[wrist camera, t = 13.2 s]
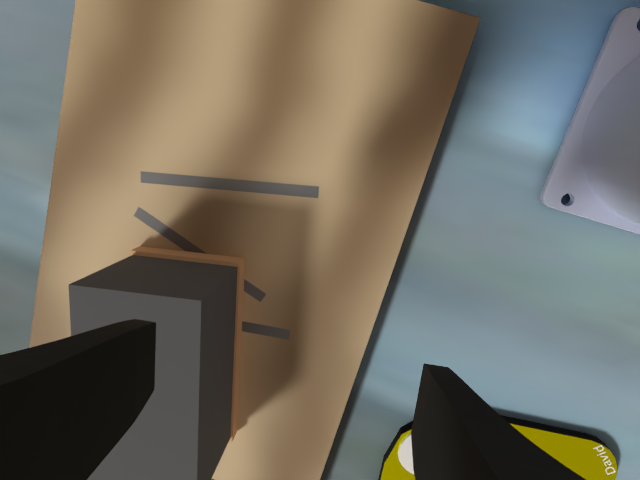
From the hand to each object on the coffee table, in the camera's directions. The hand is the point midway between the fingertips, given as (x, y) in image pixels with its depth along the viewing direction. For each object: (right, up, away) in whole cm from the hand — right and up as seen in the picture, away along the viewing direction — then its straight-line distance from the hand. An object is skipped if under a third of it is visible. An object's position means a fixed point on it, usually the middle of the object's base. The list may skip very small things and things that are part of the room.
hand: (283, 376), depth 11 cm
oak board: (-4, +3, +9) cm, 11 cm away
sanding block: (-5, -1, +9) cm, 11 cm away
